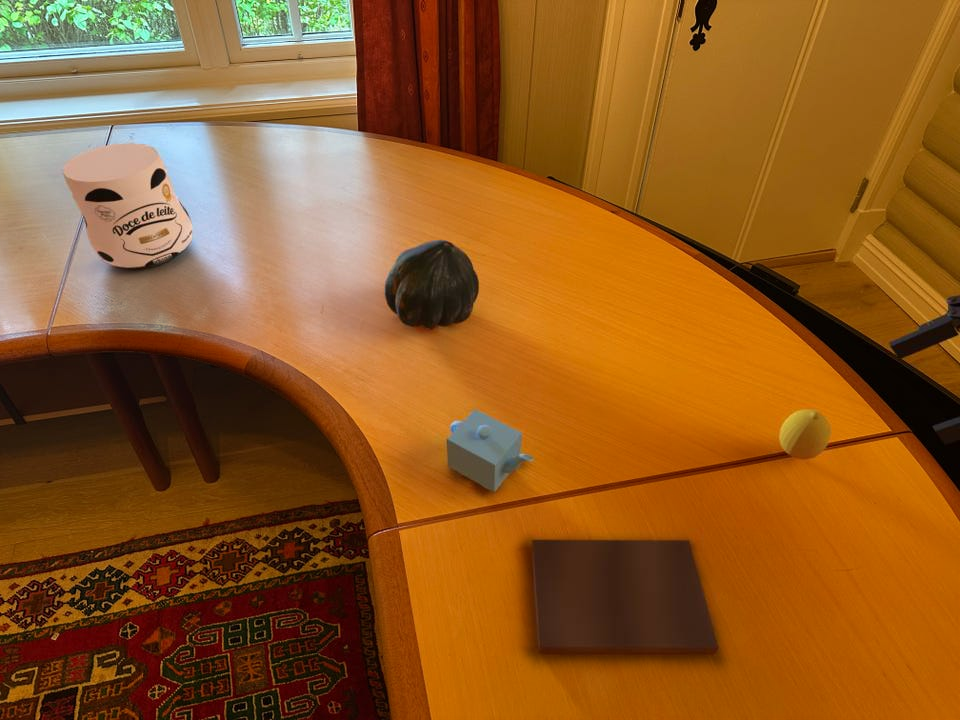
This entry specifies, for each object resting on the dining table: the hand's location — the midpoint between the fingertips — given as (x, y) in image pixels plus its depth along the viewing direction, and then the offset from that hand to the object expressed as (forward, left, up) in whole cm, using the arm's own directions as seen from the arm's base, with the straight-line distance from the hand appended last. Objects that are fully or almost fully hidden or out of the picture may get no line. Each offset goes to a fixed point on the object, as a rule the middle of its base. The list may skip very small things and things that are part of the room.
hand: (914, 390), depth 70 cm
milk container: (+116, +43, -14) cm, 125 cm away
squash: (+63, +18, -14) cm, 67 cm away
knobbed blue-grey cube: (+34, +35, -14) cm, 51 cm away
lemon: (+7, +5, -14) cm, 16 cm away
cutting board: (+13, +38, -13) cm, 42 cm away
